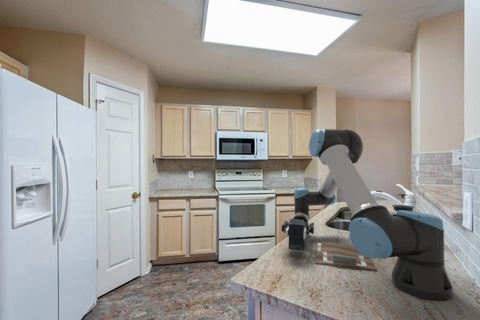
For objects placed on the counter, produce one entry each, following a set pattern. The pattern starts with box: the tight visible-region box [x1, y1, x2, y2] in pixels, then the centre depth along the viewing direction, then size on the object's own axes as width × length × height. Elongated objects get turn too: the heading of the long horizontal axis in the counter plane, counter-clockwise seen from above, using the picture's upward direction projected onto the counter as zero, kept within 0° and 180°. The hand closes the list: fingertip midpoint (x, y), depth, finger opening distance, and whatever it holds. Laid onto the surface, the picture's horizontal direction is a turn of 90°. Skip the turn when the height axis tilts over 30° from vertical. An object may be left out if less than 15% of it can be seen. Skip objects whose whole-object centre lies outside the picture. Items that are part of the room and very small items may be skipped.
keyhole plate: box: [314, 242, 377, 272], centre depth 100 cm, size 24×21×4 cm
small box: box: [288, 218, 306, 251], centre depth 101 cm, size 11×6×10 cm, turn 164°
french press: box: [391, 193, 415, 217], centre depth 118 cm, size 12×9×23 cm
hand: (295, 234), depth 96 cm, fingers closed on small box, 6 cm apart
